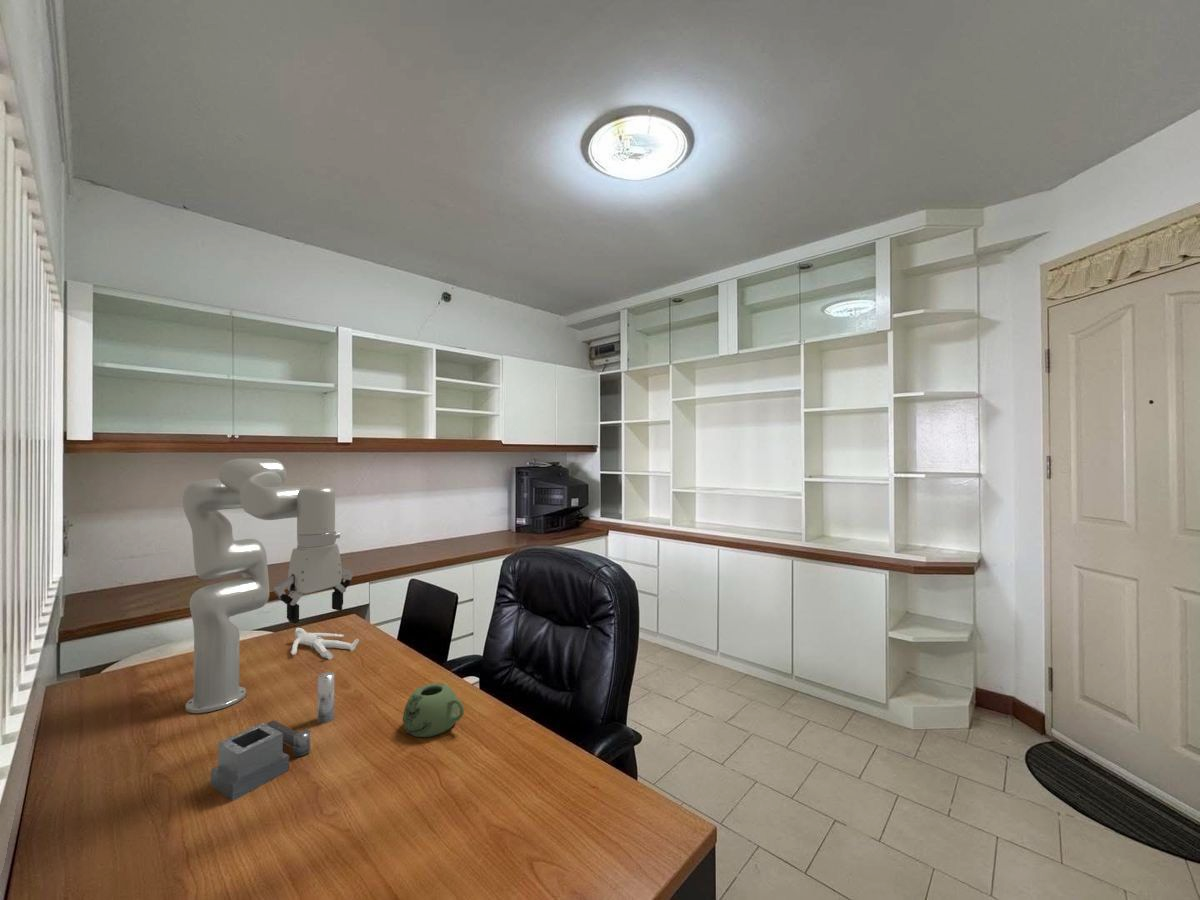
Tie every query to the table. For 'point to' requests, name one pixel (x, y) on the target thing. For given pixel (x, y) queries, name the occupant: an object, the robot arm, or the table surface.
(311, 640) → the figurine
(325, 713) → the rod
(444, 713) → the mug
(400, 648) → the table surface
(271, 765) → the block
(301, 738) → the lever
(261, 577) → the robot arm
